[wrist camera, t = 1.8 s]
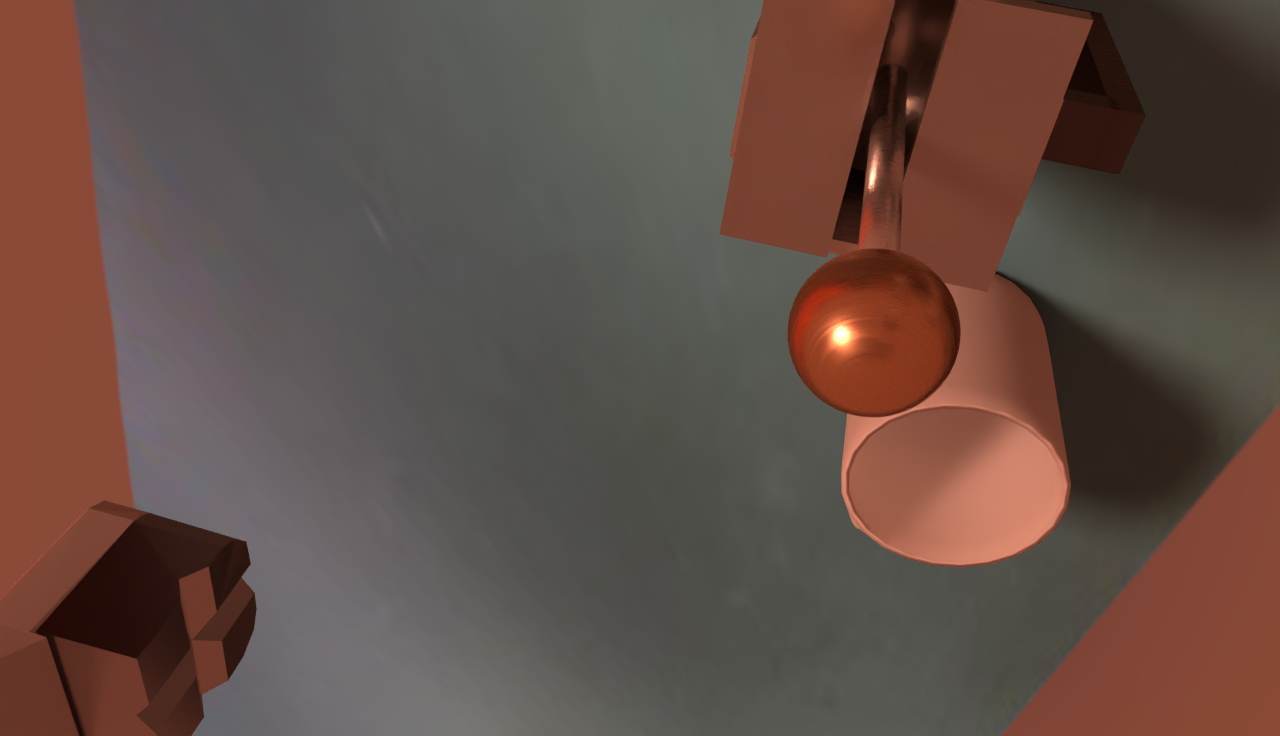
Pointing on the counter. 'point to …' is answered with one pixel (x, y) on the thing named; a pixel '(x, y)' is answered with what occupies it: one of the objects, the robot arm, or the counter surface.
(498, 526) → the counter surface
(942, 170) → the press carafe
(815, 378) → the copper ball on rod
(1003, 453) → the mug
